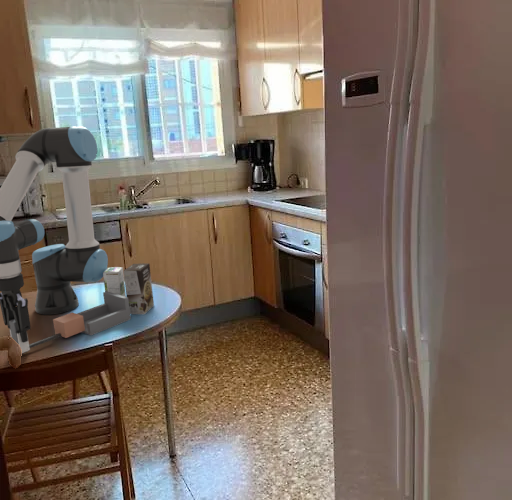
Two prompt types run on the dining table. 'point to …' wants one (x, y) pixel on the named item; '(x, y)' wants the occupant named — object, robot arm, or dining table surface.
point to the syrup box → (114, 280)
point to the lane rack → (106, 313)
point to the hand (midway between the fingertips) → (21, 349)
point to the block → (57, 328)
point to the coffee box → (139, 288)
